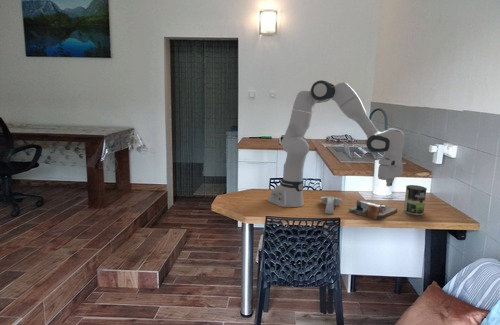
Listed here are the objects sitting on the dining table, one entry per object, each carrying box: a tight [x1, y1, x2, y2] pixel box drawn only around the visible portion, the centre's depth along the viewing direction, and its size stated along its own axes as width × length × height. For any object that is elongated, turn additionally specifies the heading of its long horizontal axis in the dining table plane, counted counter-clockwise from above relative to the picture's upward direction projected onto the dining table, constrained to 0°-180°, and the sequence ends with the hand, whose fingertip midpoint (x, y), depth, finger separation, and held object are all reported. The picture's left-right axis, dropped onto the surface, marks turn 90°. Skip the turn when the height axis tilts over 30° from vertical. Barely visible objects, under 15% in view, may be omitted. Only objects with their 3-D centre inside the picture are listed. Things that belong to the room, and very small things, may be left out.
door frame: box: [348, 201, 398, 221], centre depth 204 cm, size 17×21×6 cm
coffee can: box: [403, 184, 427, 216], centre depth 205 cm, size 10×10×14 cm
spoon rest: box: [320, 196, 342, 215], centre depth 209 cm, size 24×12×7 cm, turn 167°
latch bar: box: [355, 199, 387, 214], centre depth 198 cm, size 16×4×4 cm, turn 44°
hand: (389, 186), depth 196 cm, fingers closed
